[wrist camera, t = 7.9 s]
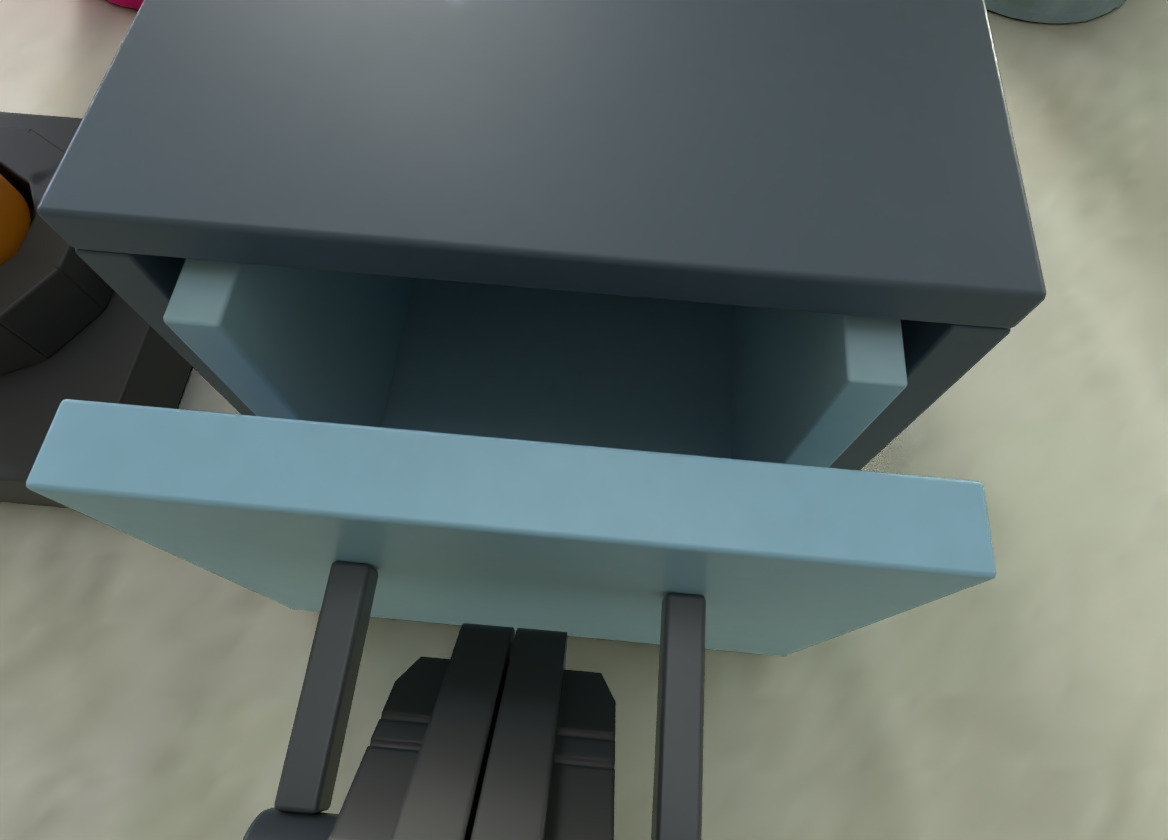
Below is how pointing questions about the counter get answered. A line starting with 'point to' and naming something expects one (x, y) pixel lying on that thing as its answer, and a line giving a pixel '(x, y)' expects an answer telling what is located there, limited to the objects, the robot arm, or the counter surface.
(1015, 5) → the embossed plant pot
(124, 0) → the pepper mill
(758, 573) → the light blue drawer
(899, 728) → the counter surface
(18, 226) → the button
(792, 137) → the grey drawer cabinet
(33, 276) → the block
